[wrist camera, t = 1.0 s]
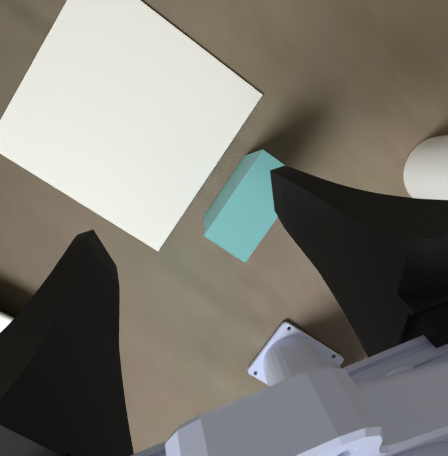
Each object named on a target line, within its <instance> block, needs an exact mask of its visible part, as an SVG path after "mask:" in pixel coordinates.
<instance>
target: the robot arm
mask: <svg viewBox="0 0 448 456" xmlns="http://www.w3.org/2000/svg"><path fill="white" fill-rule="evenodd" d="M270 176H271V184H272V193H273V201H274V210H275V212H276V214H277V216H278V218H279V219H280V221H281V223H282V225H283V226H284V228H285V229H286V231H287V232H288V233H289V235H290V236H291V237H292V238H293V240H294V241H295V242H296V243H297V245H298V246H299V247H300V248H301V250H302V251H303V252H304V253H305V255H306V256H307V257H308V258H309V260H310V261H311V262H312V263H313V265H314V266H315V267H316V269H317V270H318V271H319V273H320V274H321V276H322V277H323V279H324V281H325V282H326V284H327V285H328V287H329V288H330V290H331V292H332V293H333V295H334V297H335V298H336V300H337V302H338V303H339V305H340V307H341V308H342V310H343V312H344V313H345V315H346V317H347V319H348V320H349V322H350V324H351V326H352V328H353V329H354V331H355V333H356V335H357V336H358V338H359V340H360V342H361V344H362V346H363V348H364V350H365V352H366V353H367V355H368V357H369V358H366V359H364V360H361V361H359V362H356V363H354V364H352V365H349V366H347V367H344V368H341V367H340V365H341V364H342V362H343V361H344V359H343V357H342V356H341V355H339V354H338V353H336V352H335V351H333V350H331V349H330V348H328V347H327V346H325V345H323V344H322V343H320V342H319V341H317V340H315V339H314V338H312V337H311V336H309V335H307V334H306V333H304V332H303V331H301V330H299V329H298V328H296V327H295V326H293V325H291V324H290V323H288V322H283V323H282V324H281V325H280V326H279V328H278V329H277V330H276V332H275V333H274V334H273V336H272V337H271V338H270V340H269V341H268V342H267V344H266V345H265V346H264V348H263V349H262V350H261V352H260V353H259V354H258V356H257V357H256V358H255V359H254V361H253V362H252V363H251V365H250V366H249V367H248V373H249V374H250V375H252V376H254V377H255V378H257V379H259V380H261V381H262V382H264V383H266V384H268V387H266V388H264V389H261V390H259V391H256V392H254V393H251V394H249V395H246V396H244V397H241V398H239V399H237V400H234V401H232V402H229V403H227V404H224V405H222V406H219V407H217V408H215V409H212V410H210V411H207V412H205V413H202V414H200V415H198V416H196V417H195V418H193V419H191V420H189V421H187V422H185V423H184V424H182V425H180V426H179V427H178V428H177V429H176V430H175V432H174V433H173V434H172V435H171V436H170V437H169V438H168V440H167V441H165V442H162V443H160V444H158V445H155V446H153V447H150V448H148V449H146V450H143V451H141V452H138V453H136V454H134V453H133V447H132V442H131V436H130V430H129V424H128V418H127V411H126V404H125V397H124V389H123V381H122V373H121V363H120V353H119V281H118V274H117V267H116V265H115V263H114V261H113V260H112V258H111V257H110V255H109V254H108V252H107V250H106V249H105V247H104V246H103V244H102V243H101V241H100V239H99V238H98V236H97V235H96V233H95V232H94V230H90V231H87V232H84V233H81V234H78V235H77V236H76V237H75V238H74V240H73V241H72V243H71V244H70V246H69V247H68V248H67V250H66V251H65V253H64V254H63V256H62V257H61V259H60V260H59V262H58V263H57V265H56V266H55V268H54V269H53V271H52V272H51V273H50V275H49V276H48V277H47V279H46V280H45V281H44V283H43V284H42V285H41V287H40V288H39V289H38V291H37V292H36V293H35V295H34V296H33V297H32V298H31V300H30V301H29V302H28V303H27V304H26V306H25V307H24V308H23V309H22V310H21V311H20V312H19V314H18V315H17V316H16V317H15V318H14V319H13V320H12V321H11V322H10V323H9V324H8V326H7V327H6V328H5V329H3V330H2V331H1V332H0V456H448V200H435V199H419V198H407V197H399V196H391V195H384V194H378V193H373V192H368V191H363V190H359V189H354V188H350V187H347V186H343V185H340V184H336V183H333V182H330V181H327V180H324V179H321V178H318V177H315V176H313V175H310V174H307V173H304V172H302V171H299V170H296V169H293V168H290V167H287V166H281V167H278V168H275V169H272V170H270ZM288 327H290V329H287V328H288ZM332 355H334V356H333V357H332ZM255 371H256V373H254V372H255Z"/></svg>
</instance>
